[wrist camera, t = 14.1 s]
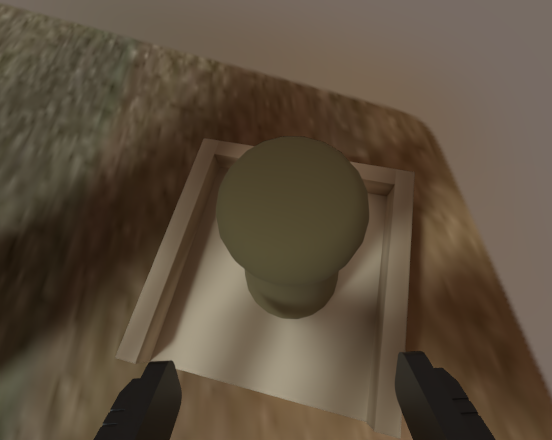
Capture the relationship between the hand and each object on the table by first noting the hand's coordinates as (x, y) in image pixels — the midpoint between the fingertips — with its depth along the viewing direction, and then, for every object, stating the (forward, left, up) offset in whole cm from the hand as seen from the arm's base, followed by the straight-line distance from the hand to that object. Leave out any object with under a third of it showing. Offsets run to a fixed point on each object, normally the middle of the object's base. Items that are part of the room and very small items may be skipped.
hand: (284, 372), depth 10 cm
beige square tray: (-2, +6, -8) cm, 10 cm away
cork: (-1, +5, -7) cm, 9 cm away
